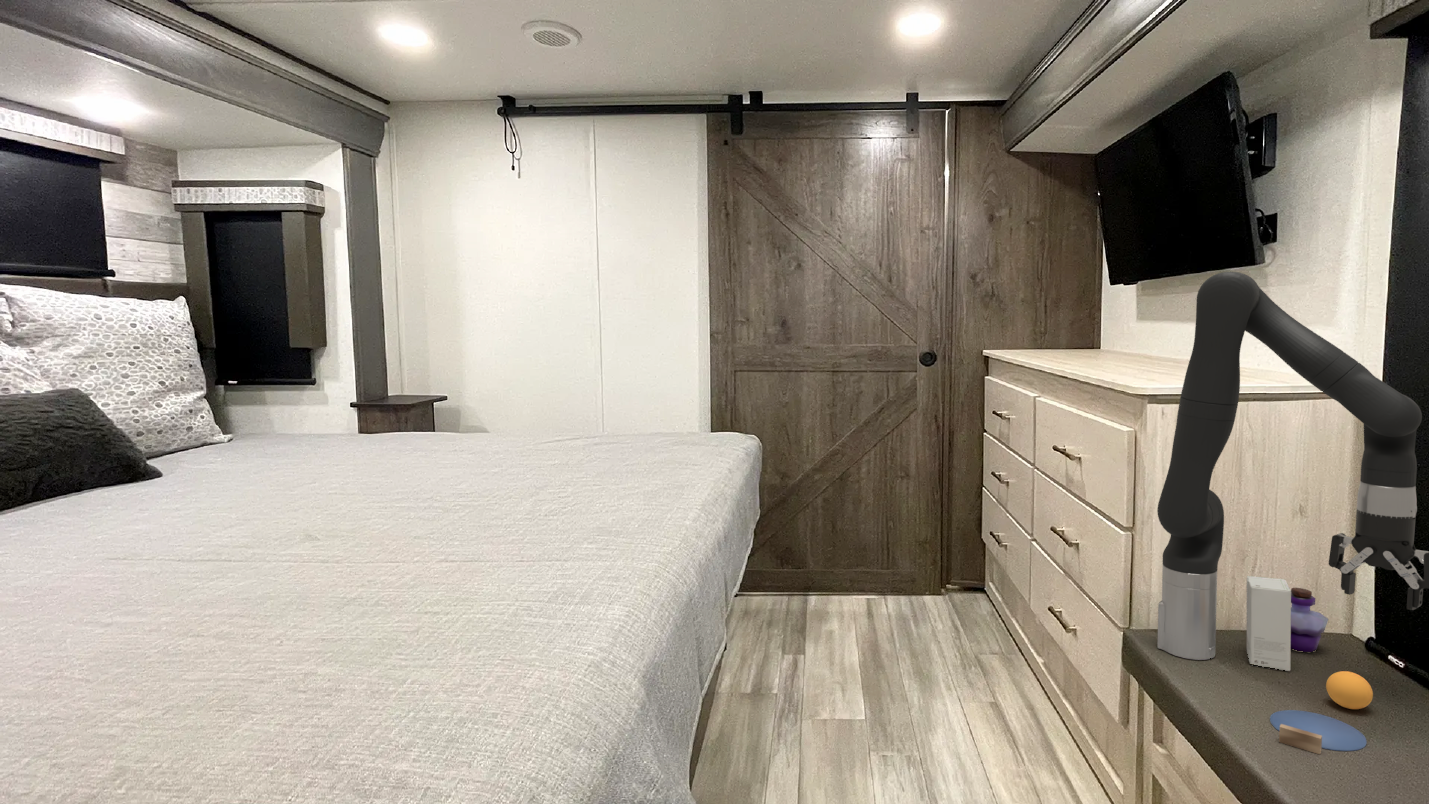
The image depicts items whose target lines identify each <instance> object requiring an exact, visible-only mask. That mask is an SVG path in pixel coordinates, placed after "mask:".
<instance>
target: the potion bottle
mask: <svg viewBox="0 0 1429 804" xmlns="http://www.w3.org/2000/svg"><path fill="white" fill-rule="evenodd" d="M1290 590H1291V649H1294V650H1297V651H1303V652H1313V651H1315V650H1317V649H1318V646H1319V643H1320V640H1321V638H1322V633H1323V634H1324V633H1325V631H1326V628H1327V625H1328V621H1329V618H1328V617H1327V616H1325V615H1324V614H1322V613H1321V612H1319V611H1314V610H1311V607H1312V606H1316V597H1314V596H1313V595H1312V594H1313V592H1312V591H1311V590H1309V589H1306V588H1301V587H1292V588H1290Z"/></svg>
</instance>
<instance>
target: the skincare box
mask: <svg viewBox="0 0 1429 804" xmlns="http://www.w3.org/2000/svg"><path fill="white" fill-rule="evenodd" d="M1291 605H1292V603H1291V588H1290V586H1289V584H1288V582H1287V580H1286V579H1285V578H1284V579H1282V578H1275V577H1273V578H1272V577H1262V576H1253V575H1247V576H1246V654H1248V655H1247V657H1248V658H1249V659H1248V658H1247V659H1248V662H1249V664H1254V665H1258V666H1262V667H1261V668H1264V667H1270V668H1275V669H1274V670H1277V669H1279V670H1278V671H1283V670H1285V672H1291V651H1292V650H1291ZM1258 666H1257V667H1258ZM1270 668H1269V669H1270Z"/></svg>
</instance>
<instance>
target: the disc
mask: <svg viewBox="0 0 1429 804" xmlns="http://www.w3.org/2000/svg"><path fill="white" fill-rule="evenodd" d="M1269 721H1270V724H1271V725H1272V726H1273V727H1274V729H1275V730H1277V731H1278V732H1279V730H1280V725H1281V724H1283V725H1287V726H1290V727H1294V728H1297V729H1301V730H1304V731H1308V732H1311V733H1314V734H1318V735H1321V736H1322V748H1321V749H1324V750H1329V751H1337V752H1355V751H1360V750H1362V749H1364V748H1365V747H1366V746H1367V738H1366V736H1365V735H1364V734H1363V733H1362V732H1361V731H1360V730H1358V729H1357V728H1355V727H1353V726H1352V725H1350V724H1348V723H1346V722H1344V721H1342V720H1339V719H1337V718H1334V717H1331V716H1328V715H1324V714H1321V713H1316V712H1311V711H1306V710H1298V709H1297V710H1296V709H1286V710H1285V709H1284V710H1278V711H1276V712H1273V713H1272V714H1271V715H1270V716H1269Z"/></svg>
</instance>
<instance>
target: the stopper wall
mask: <svg viewBox="0 0 1429 804" xmlns="http://www.w3.org/2000/svg"><path fill="white" fill-rule="evenodd" d="M1278 732H1279V733H1278V734H1279V735H1278V737H1279V738H1278V742H1279V743H1280V744H1283V745H1287V746H1292V747H1294V748H1298V749H1300V750H1304V751H1307V752H1310V753H1314V754H1317V755H1321V753H1322V749H1323V748H1322V736H1321V735H1318V734H1314V733H1311V732H1308V731H1304V730H1301V729H1297V728H1294V727H1290V726H1287V725H1283V724H1281V725H1280V730H1279V731H1278Z"/></svg>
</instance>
